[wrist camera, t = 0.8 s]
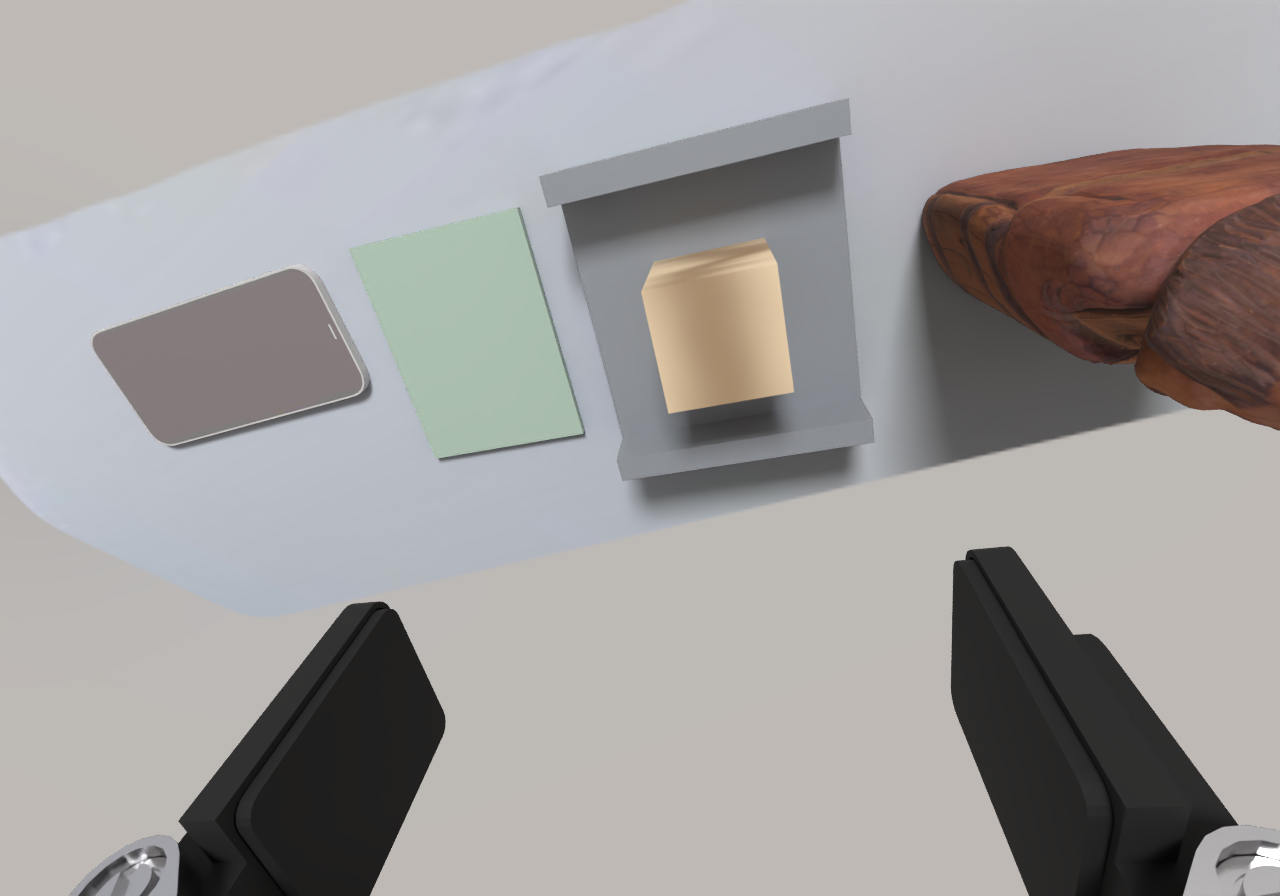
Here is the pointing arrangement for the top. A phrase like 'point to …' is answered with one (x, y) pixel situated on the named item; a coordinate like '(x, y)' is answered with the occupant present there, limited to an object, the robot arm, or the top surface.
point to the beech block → (718, 326)
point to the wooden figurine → (1134, 264)
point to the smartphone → (234, 357)
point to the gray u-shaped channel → (707, 219)
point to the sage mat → (472, 334)
